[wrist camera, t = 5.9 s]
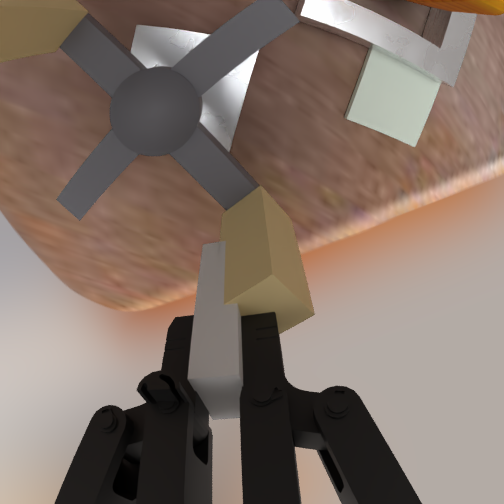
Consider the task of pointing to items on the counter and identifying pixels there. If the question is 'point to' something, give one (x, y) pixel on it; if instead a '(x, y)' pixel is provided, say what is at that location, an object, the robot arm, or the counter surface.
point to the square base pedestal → (215, 99)
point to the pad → (392, 98)
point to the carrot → (466, 6)
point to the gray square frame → (397, 35)
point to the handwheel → (177, 136)
